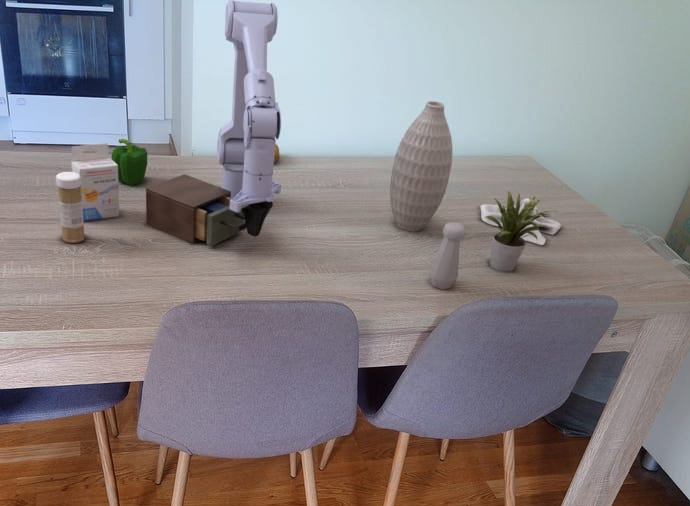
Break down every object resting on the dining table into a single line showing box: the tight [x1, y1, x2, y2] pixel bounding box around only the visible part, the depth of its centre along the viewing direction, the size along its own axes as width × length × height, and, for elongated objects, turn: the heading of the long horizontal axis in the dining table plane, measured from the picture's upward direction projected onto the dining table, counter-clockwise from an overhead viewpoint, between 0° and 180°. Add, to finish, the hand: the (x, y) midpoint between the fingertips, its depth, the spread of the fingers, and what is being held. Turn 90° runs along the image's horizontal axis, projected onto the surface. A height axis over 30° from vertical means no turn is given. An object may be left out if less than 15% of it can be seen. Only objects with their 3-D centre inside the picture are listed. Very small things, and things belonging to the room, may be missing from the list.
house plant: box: [486, 190, 558, 272], centre depth 148 cm, size 14×14×16 cm
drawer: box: [195, 196, 247, 247], centre depth 149 cm, size 17×11×7 cm, turn 56°
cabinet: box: [145, 173, 231, 245], centre depth 152 cm, size 13×12×8 cm
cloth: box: [479, 198, 562, 246], centre depth 172 cm, size 22×19×6 cm
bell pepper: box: [111, 138, 148, 186], centre depth 169 cm, size 8×8×10 cm
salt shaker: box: [428, 221, 467, 290], centre depth 140 cm, size 6×6×13 cm
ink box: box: [70, 142, 120, 222], centre depth 150 cm, size 8×5×15 cm, turn 123°
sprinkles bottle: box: [55, 171, 86, 244], centre depth 140 cm, size 5×5×14 cm
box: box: [199, 201, 226, 218], centre depth 149 cm, size 4×4×5 cm
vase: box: [389, 100, 453, 232], centre depth 158 cm, size 13×13×28 cm
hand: (253, 234), depth 145 cm, fingers closed, pressing on drawer
